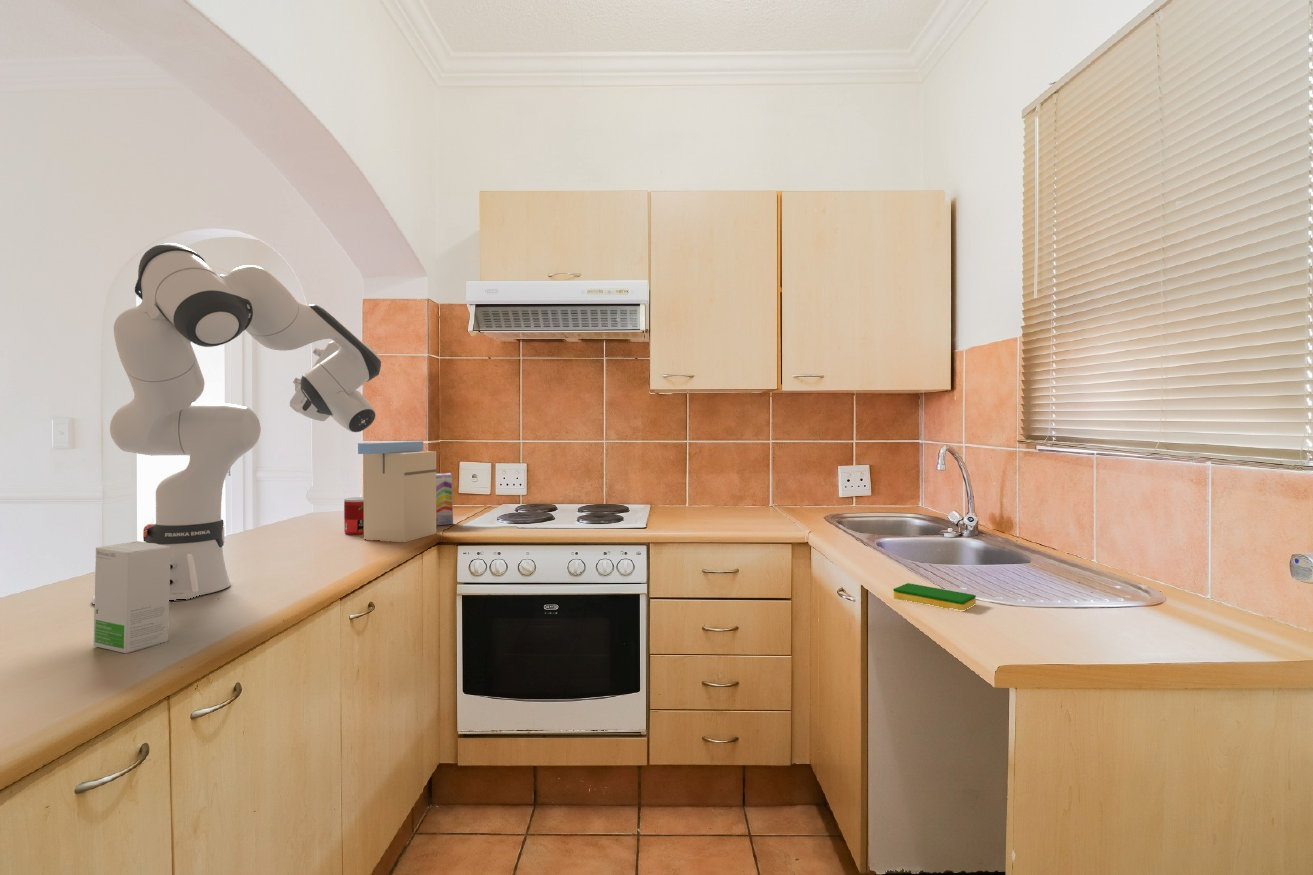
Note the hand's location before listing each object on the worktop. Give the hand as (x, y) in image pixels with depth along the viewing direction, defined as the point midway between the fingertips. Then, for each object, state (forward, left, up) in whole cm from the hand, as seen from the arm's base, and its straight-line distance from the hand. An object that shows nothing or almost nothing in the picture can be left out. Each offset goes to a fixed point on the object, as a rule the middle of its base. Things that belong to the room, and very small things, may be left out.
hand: (306, 365), depth 172 cm
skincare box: (-27, -65, -50) cm, 86 cm away
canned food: (+15, +31, -50) cm, 61 cm away
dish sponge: (+107, -110, -51) cm, 162 cm away
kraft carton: (+26, +18, -50) cm, 59 cm away
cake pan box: (+36, +37, -50) cm, 72 cm away
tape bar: (+23, +15, -24) cm, 36 cm away
